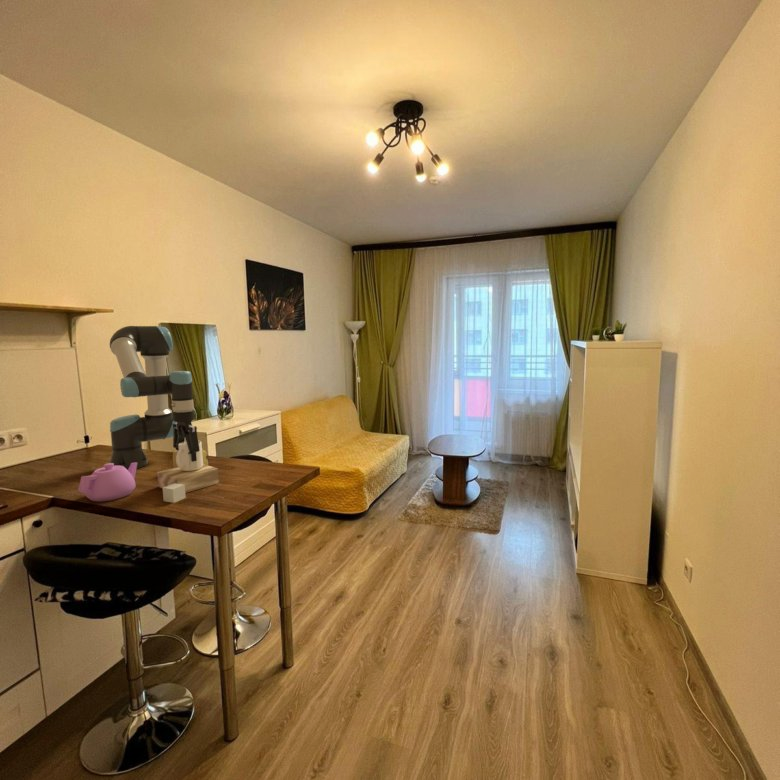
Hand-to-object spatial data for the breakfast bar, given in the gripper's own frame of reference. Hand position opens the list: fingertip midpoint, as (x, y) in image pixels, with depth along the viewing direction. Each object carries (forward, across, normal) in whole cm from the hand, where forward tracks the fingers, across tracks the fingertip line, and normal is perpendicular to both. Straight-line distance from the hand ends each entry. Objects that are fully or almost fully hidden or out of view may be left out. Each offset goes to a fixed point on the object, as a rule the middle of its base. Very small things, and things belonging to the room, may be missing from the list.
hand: (187, 467), depth 162 cm
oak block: (+7, 0, 0) cm, 7 cm away
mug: (+1, +1, 0) cm, 1 cm away
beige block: (+7, +11, -11) cm, 17 cm away
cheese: (+8, -19, +11) cm, 23 cm away
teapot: (+8, -14, -22) cm, 27 cm away
